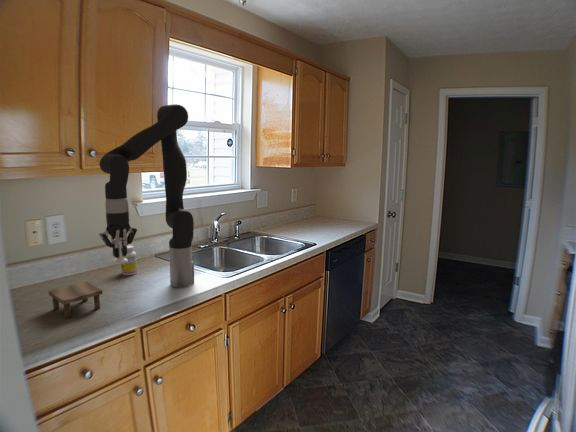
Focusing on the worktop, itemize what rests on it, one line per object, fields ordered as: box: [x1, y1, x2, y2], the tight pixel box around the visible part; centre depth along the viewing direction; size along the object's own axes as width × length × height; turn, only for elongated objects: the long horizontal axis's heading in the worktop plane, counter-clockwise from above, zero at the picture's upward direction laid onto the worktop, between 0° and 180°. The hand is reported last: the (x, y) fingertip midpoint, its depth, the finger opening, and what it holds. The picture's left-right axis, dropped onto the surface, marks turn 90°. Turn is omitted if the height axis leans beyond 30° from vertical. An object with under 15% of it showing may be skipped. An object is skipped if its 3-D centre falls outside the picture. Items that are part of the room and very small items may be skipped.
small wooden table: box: [48, 281, 103, 320], centre depth 135 cm, size 13×13×7 cm
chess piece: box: [113, 238, 128, 265], centre depth 137 cm, size 5×5×10 cm
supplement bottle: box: [120, 245, 138, 276], centre depth 173 cm, size 7×7×13 cm
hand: (120, 256), depth 138 cm, fingers closed on chess piece
